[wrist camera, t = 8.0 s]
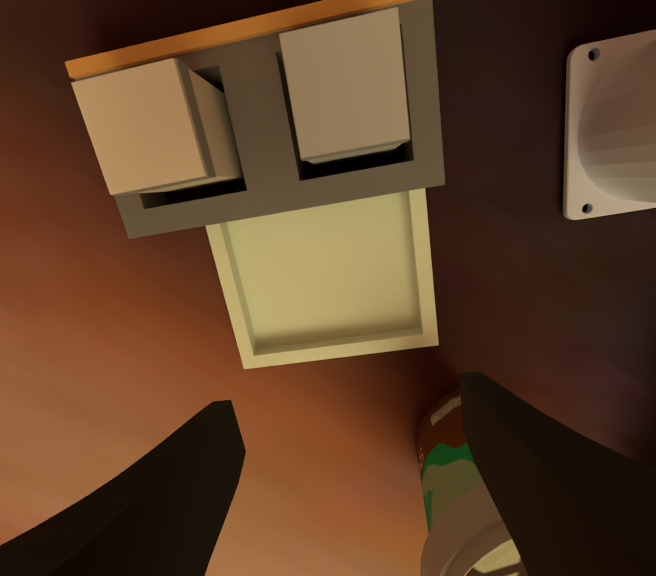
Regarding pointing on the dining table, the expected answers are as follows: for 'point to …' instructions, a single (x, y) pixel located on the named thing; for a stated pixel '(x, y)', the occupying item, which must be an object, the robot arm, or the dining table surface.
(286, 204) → the grey cubby shelf
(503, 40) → the dining table surface
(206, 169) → the plug
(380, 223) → the tray
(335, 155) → the beige block
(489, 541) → the food container
